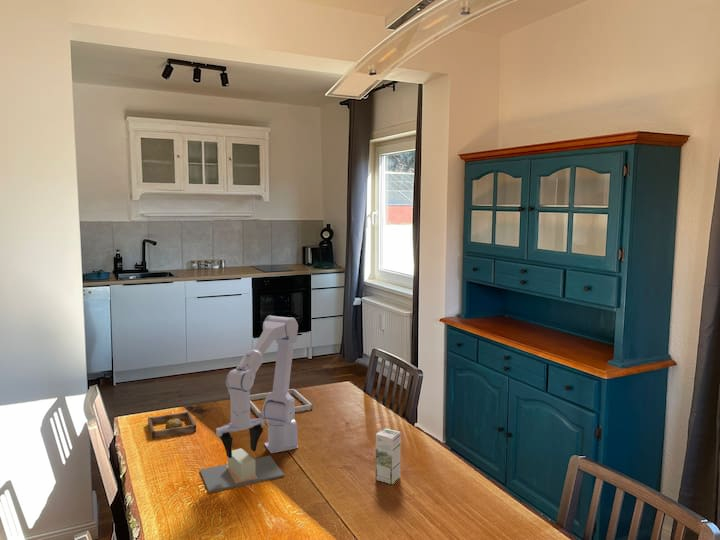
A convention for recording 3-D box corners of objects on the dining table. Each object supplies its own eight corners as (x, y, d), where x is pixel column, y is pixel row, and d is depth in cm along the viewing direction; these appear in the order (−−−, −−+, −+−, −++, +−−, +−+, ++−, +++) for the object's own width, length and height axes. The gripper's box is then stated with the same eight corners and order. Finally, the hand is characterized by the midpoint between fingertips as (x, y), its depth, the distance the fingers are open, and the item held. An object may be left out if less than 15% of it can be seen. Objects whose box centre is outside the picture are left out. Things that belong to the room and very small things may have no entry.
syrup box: (400, 477, 162) (401, 430, 160) (391, 486, 157) (392, 437, 155) (384, 472, 165) (384, 426, 163) (374, 481, 160) (375, 433, 158)
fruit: (174, 436, 191) (173, 426, 190) (159, 431, 195) (158, 421, 195) (193, 428, 198) (192, 419, 197) (178, 423, 202) (178, 414, 202)
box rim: (294, 393, 236) (294, 388, 236) (312, 409, 217) (312, 404, 216) (244, 400, 226) (244, 395, 226) (259, 418, 207) (259, 413, 207)
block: (255, 476, 161) (255, 460, 160) (241, 480, 158) (241, 464, 158) (241, 463, 169) (241, 448, 168) (228, 467, 166) (227, 451, 166)
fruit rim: (189, 417, 207) (189, 411, 207) (196, 431, 194) (195, 425, 194) (148, 424, 201) (148, 417, 200) (152, 439, 188) (152, 432, 187)
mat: (270, 457, 175) (270, 455, 175) (284, 476, 162) (284, 474, 162) (199, 471, 165) (199, 469, 165) (208, 492, 152) (208, 490, 152)
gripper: (257, 400, 169) (257, 442, 170) (211, 410, 160) (213, 454, 162) (267, 407, 163) (267, 450, 165) (220, 418, 155) (221, 463, 156)
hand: (241, 453), depth 163 cm, fingers open, 7 cm apart
